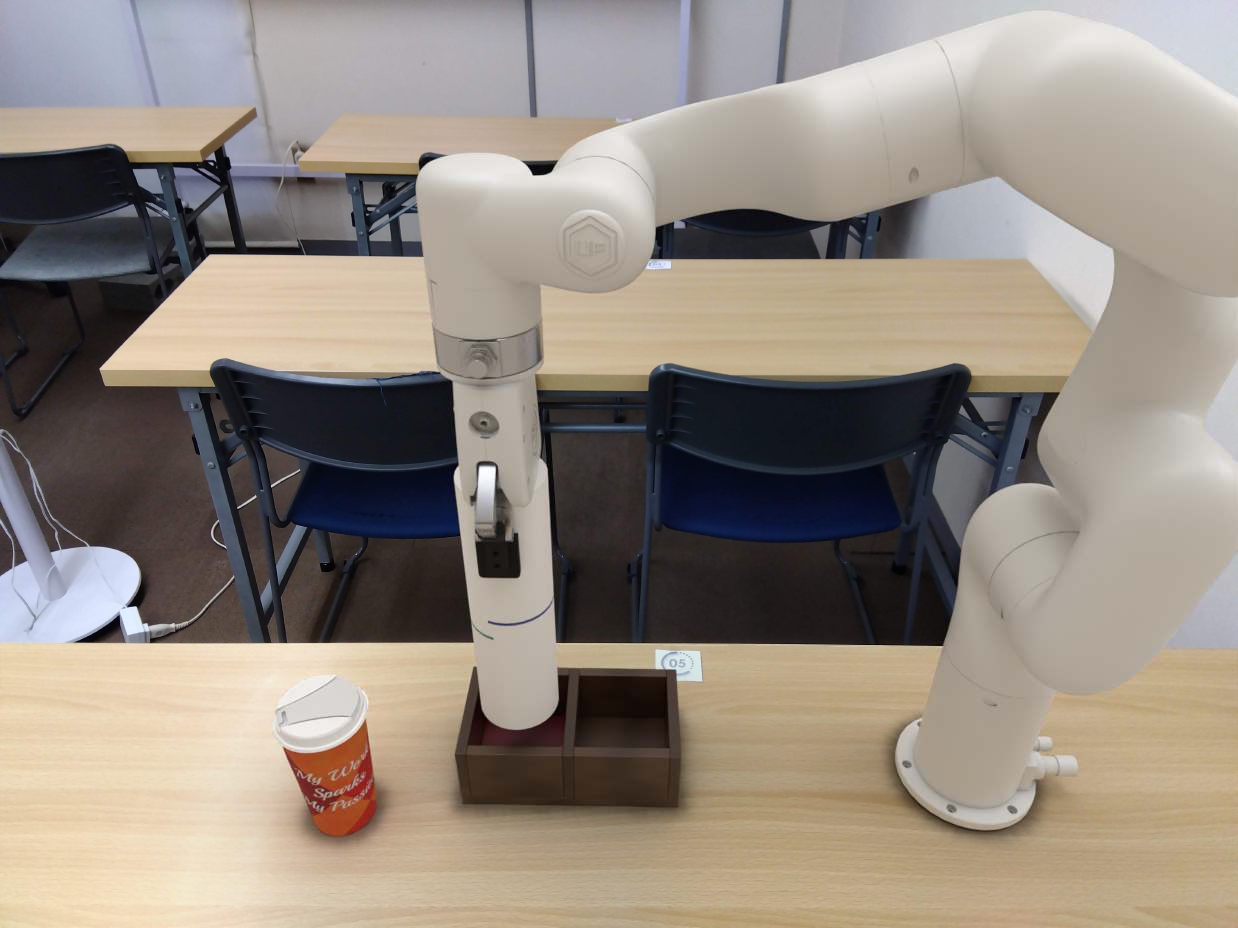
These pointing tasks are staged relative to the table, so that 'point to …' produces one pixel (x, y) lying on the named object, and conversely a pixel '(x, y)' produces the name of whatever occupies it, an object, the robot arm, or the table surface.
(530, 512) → the cylindrical container
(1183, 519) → the robot arm
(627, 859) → the table surface
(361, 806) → the paper cup
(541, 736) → the wooden compartment box
